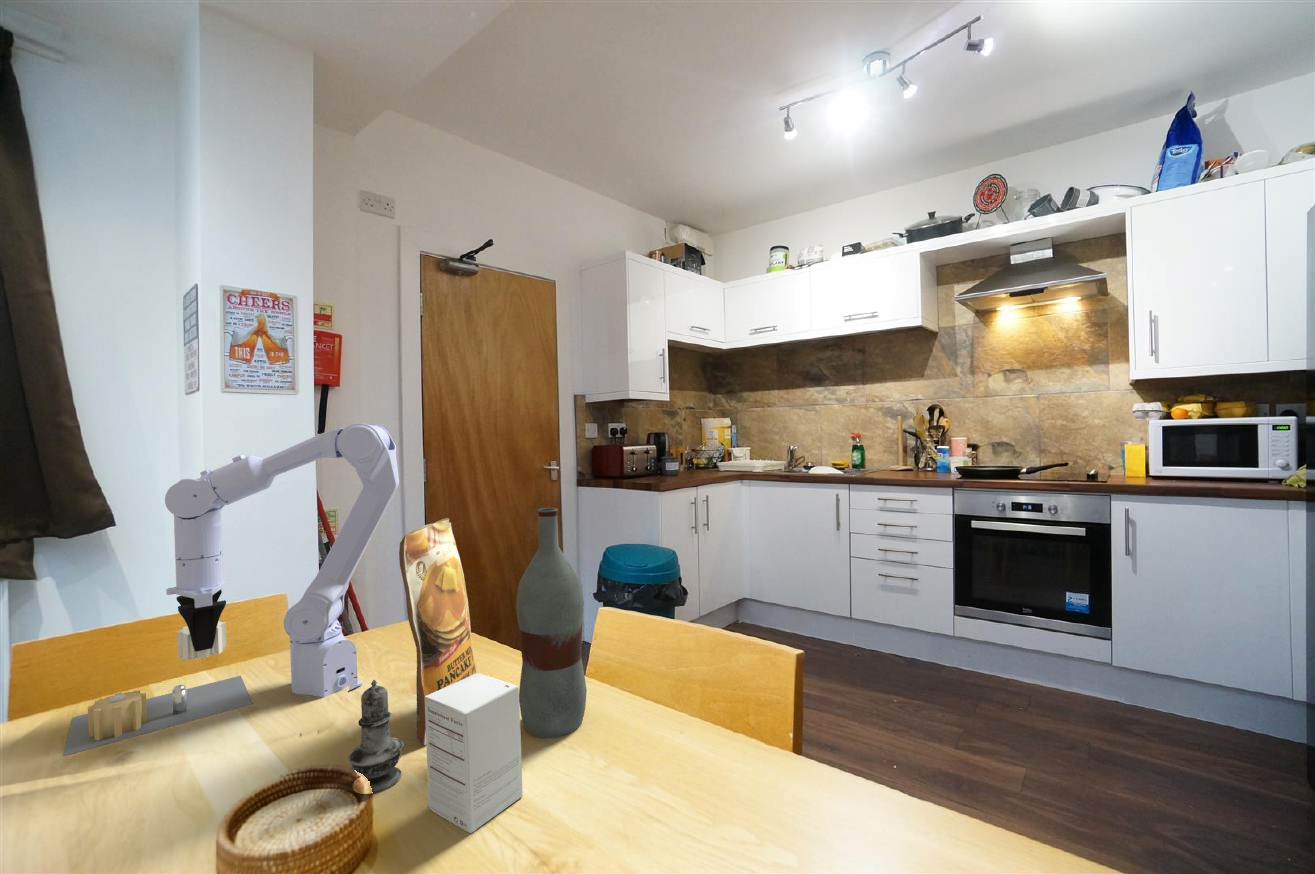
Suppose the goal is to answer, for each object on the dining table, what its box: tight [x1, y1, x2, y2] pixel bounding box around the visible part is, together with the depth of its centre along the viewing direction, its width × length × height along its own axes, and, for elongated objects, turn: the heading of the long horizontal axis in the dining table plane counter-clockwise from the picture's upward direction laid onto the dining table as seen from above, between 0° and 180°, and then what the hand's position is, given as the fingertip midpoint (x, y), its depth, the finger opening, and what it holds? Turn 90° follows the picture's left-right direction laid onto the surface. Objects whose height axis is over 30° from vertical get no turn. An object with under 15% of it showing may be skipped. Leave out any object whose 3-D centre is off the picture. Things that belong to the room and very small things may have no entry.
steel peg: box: [171, 684, 187, 715], centre depth 85 cm, size 2×2×4 cm
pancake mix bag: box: [398, 517, 478, 747], centre depth 83 cm, size 7×19×28 cm, turn 174°
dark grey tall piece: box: [348, 679, 404, 795], centre depth 68 cm, size 6×6×12 cm
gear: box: [176, 620, 228, 661], centre depth 89 cm, size 6×6×4 cm
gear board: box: [62, 675, 254, 757], centre depth 85 cm, size 20×14×6 cm
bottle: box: [515, 507, 588, 739], centre depth 81 cm, size 9×9×30 cm
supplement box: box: [425, 672, 524, 834], centre depth 63 cm, size 7×7×13 cm
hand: (202, 643), depth 89 cm, fingers closed on gear, 6 cm apart
